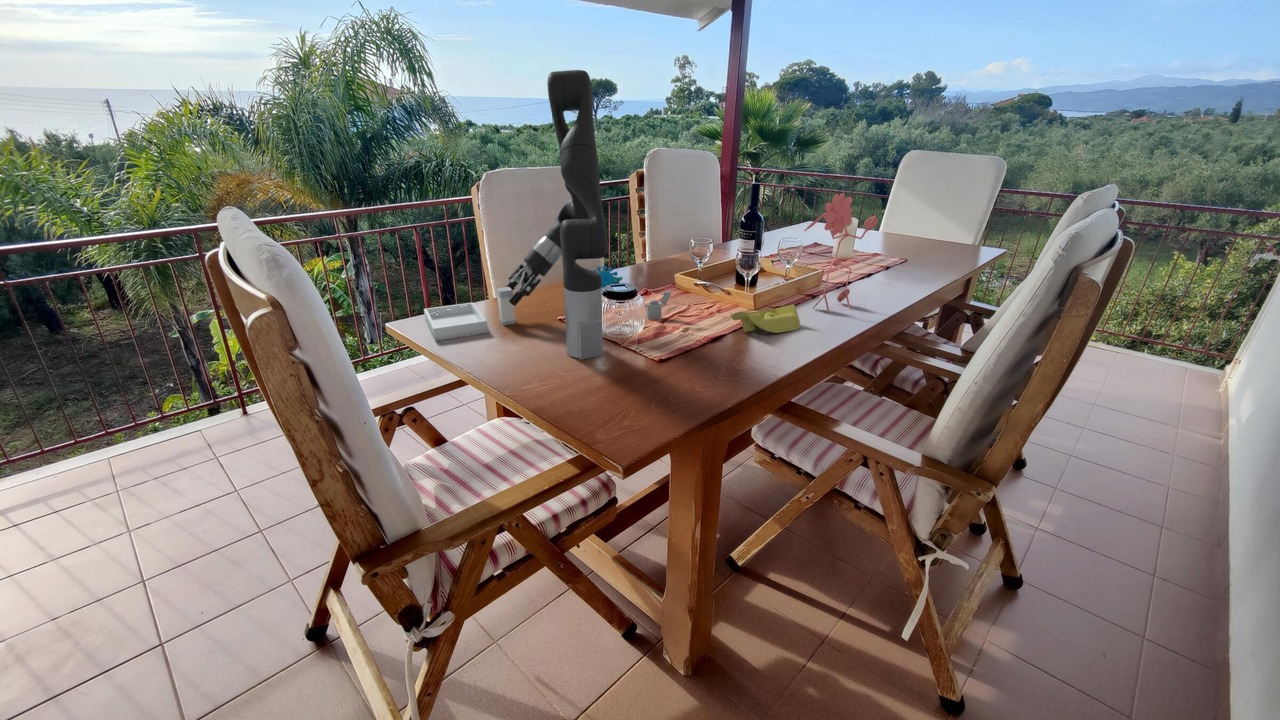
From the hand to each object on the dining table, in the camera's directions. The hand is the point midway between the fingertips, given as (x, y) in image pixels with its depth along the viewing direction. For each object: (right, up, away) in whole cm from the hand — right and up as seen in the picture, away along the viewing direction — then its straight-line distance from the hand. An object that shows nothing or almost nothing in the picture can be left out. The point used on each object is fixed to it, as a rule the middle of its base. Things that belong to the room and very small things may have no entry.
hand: (507, 299), depth 156 cm
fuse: (-1, -6, +2) cm, 7 cm away
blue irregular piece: (+27, +7, +34) cm, 44 cm away
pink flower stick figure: (+98, 0, +21) cm, 100 cm away
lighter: (+44, -5, +8) cm, 45 cm away
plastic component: (+73, -8, +1) cm, 74 cm away
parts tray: (-14, -8, -1) cm, 16 cm away
